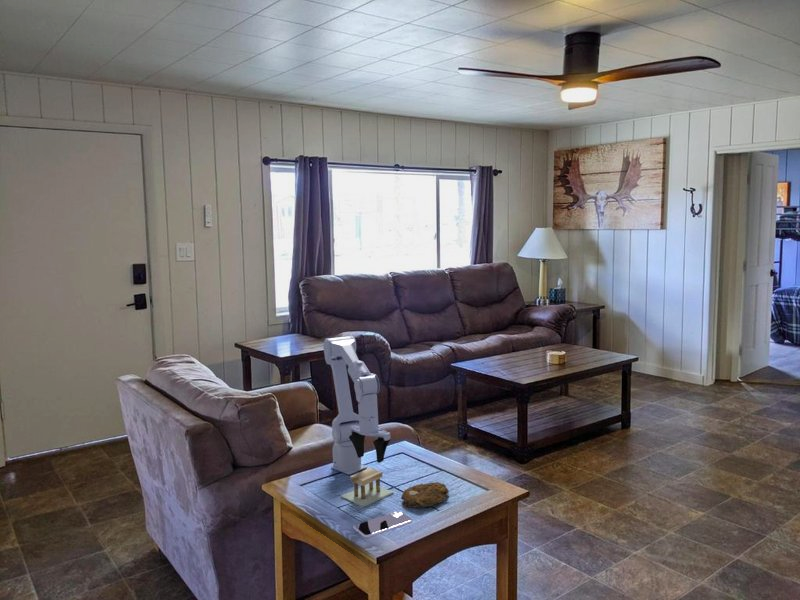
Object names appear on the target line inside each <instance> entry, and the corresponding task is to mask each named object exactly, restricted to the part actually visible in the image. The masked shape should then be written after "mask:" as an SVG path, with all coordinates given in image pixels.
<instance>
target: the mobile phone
mask: <svg viewBox="0 0 800 600" xmlns="http://www.w3.org/2000/svg"><path fill="white" fill-rule="evenodd" d="M411 523H413V519H412V518H411V517H409V516H408V515H406V514H405V513H403V512H402V511H401V510H400V511H399V510H397V511H393V512H391V513H387V514H384V515H381V516H378V517H375V518H371V519H370V520H369V519H368V520H365V521H362V522H359V523H356V524H354V525H353V530H354V531H356V532H357V533H358V534H359V535H361V536H362V537H363V538H370V537H373V536H376V535H379V534H383V533H385V532H388V531H391V530H393V529H396V528H400V527H403V526H405V525H408V524H411Z"/></svg>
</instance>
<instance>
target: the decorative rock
mask: <svg viewBox="0 0 800 600" xmlns="http://www.w3.org/2000/svg"><path fill="white" fill-rule="evenodd" d="M446 486H447V485H445V483H441V482H438V481H436V482H429V483H420V484H415V485H413V486H409V487H408V488H406V489H404V490H403V492H402V495H401V496H400V497H401V499H402V500H403V501H402V505H403V507H404V508H405V507H407V508H408V509H411V508H412V507H413V508H414V509H415V508H416V509H417V508H418V509H422V508H426V507H428V508H430V507H432V506H434V505H438V504H440V503H441V502H443V501H445V499H446V498H447V496H448V495H450V491H449V489H448V488H447V487H446Z"/></svg>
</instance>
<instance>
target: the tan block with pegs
mask: <svg viewBox="0 0 800 600" xmlns="http://www.w3.org/2000/svg"><path fill="white" fill-rule="evenodd" d="M382 478H383V471H381V470H377V469H374V468H372V467H371V468H368V467H367V468H365V470H364V469H363V470H361V471H360V472H359V471H358V472H356V473H354V474H353V475H352V474H351V475H350V483H353V490H354V496H355V497H357V496H358V488H359V486H360V488H361V499H365V485H368V484H369V489H370V490H372V489H373V484H374V482H375V485H376V492H380V487H381V481H380V480H381V479H382Z"/></svg>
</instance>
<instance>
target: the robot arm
mask: <svg viewBox="0 0 800 600" xmlns="http://www.w3.org/2000/svg"><path fill="white" fill-rule="evenodd" d="M322 347H323V353H324V360H325V363H326V365H330V367H331V370H332V371H331V372H332V378H333V384H334V391H335V397H336V403H337V404H336V405H337V409H338V414H337V416H336V417H334V419H333V420H332V423H331V429H332V430H331V434H332V439H333V442H334V443H333V445H332V464H333V465H332V466H331V469H333V470H336V471H338V472H340V473H343V474H346V475H350V476H351V475H352V474H356V473H358V472H359V471H360V472H361V471H364V469H365V470H366V469H368V466H367V465H364V464H363V463H362V458H363V457H364V455H365V437H366V436H367V437H371V438H377V439H376V440H374V441H372V443H373V445H374V448H375V453H376V462H377V463H379V464H380V463H382V462H384V460H385V454H386V450H387V448H388V444H389V443H390V441H391V432H388V431H386V430H384V429H381V428H380V425H379V412H378V411H379V409H378V395H377V394H379V393H380V390H381V388H380V387H381V385H380V380H379V377H378V375H377V374H376V373H371V371H370V370H369V369H368V367H367V365H366V364H365V362H364V361H363V360H359V357H358V354H357V352H356V351H357V341H356V338H355V337H354V336H353V335H351V334H350V335H347V336H346V335H345V336H339V337H331V338H328V337H327V338H325V339H324V341H323V346H322ZM348 375H349V377H350V378H351V380H352V382H353V383H354V384H353V386H354V387H353V388H354V392H355V400H356V401H357V404H358V405H357V406H358V407H357V408H358V414H357V413H356V412H354V408H353V401H352V396H351V390H350V383H349V377H348ZM341 423H342V424H341Z"/></svg>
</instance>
